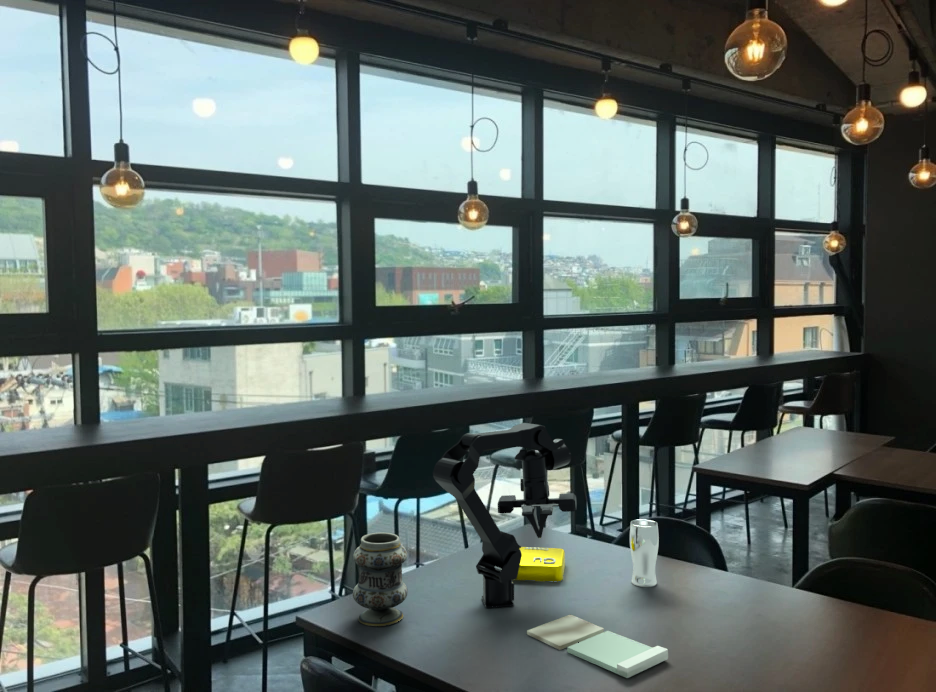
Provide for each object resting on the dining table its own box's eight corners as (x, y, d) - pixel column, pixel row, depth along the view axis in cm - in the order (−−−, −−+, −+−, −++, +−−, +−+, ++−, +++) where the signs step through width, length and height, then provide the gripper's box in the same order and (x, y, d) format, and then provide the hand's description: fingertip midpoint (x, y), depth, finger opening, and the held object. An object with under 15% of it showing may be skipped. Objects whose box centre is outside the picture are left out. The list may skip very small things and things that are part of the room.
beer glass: (659, 588, 180) (659, 527, 179) (629, 587, 181) (629, 526, 181) (657, 578, 187) (657, 519, 186) (629, 577, 188) (629, 518, 188)
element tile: (565, 564, 200) (565, 546, 200) (562, 584, 185) (562, 565, 185) (509, 561, 203) (509, 544, 202) (502, 581, 188) (502, 562, 188)
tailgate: (567, 643, 147) (627, 668, 135) (607, 626, 154) (667, 649, 143) (567, 652, 147) (627, 678, 135) (608, 635, 154) (668, 658, 143)
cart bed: (526, 634, 155) (526, 630, 155) (570, 617, 163) (570, 614, 163) (559, 650, 148) (559, 646, 148) (603, 632, 156) (603, 628, 156)
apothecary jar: (419, 616, 165) (418, 536, 164) (377, 634, 156) (376, 549, 156) (383, 602, 173) (382, 526, 173) (342, 618, 165) (340, 538, 164)
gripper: (574, 464, 186) (578, 524, 188) (500, 467, 189) (505, 526, 191) (573, 477, 175) (578, 541, 177) (494, 480, 178) (500, 543, 180)
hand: (539, 537), depth 181 cm, fingers closed
